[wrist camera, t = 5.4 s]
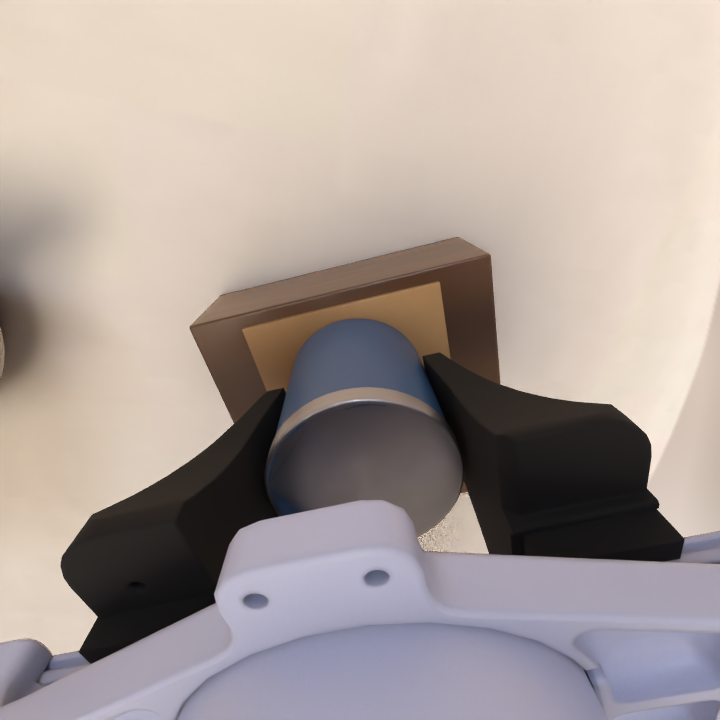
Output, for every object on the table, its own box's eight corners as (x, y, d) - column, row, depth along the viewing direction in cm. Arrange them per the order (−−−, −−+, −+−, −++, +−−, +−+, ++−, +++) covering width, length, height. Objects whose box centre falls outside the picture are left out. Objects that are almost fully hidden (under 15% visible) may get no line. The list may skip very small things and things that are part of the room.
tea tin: (432, 418, 15) (474, 532, 11) (312, 444, 16) (299, 566, 11) (411, 301, 13) (452, 377, 8) (272, 334, 14) (232, 426, 9)
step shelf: (484, 472, 23) (513, 532, 19) (308, 508, 23) (301, 573, 20) (459, 236, 16) (493, 254, 13) (219, 295, 17) (185, 329, 13)
